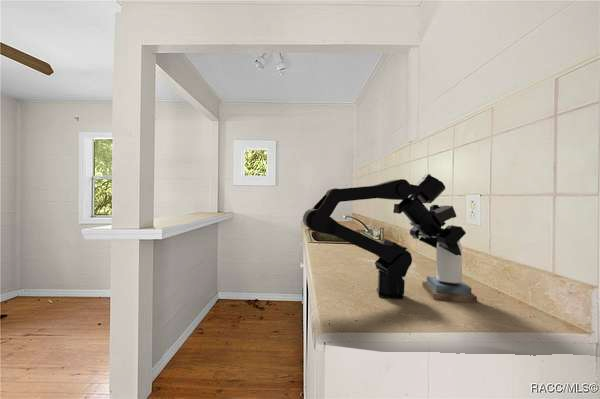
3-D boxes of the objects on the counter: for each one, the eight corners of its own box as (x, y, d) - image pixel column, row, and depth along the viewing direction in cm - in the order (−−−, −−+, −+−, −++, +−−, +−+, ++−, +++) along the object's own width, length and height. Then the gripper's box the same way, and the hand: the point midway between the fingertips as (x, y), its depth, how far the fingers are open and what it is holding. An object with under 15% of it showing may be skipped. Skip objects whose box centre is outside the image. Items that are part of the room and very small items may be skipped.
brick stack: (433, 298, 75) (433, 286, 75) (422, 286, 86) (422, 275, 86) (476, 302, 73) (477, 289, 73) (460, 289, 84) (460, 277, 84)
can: (467, 283, 77) (467, 240, 78) (450, 284, 74) (450, 240, 75) (447, 278, 83) (447, 238, 84) (431, 279, 80) (431, 238, 81)
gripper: (460, 195, 70) (497, 239, 71) (420, 195, 88) (450, 230, 90) (430, 225, 69) (468, 269, 70) (396, 219, 87) (427, 254, 89)
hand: (452, 253), depth 80 cm, fingers closed on can, 6 cm apart
